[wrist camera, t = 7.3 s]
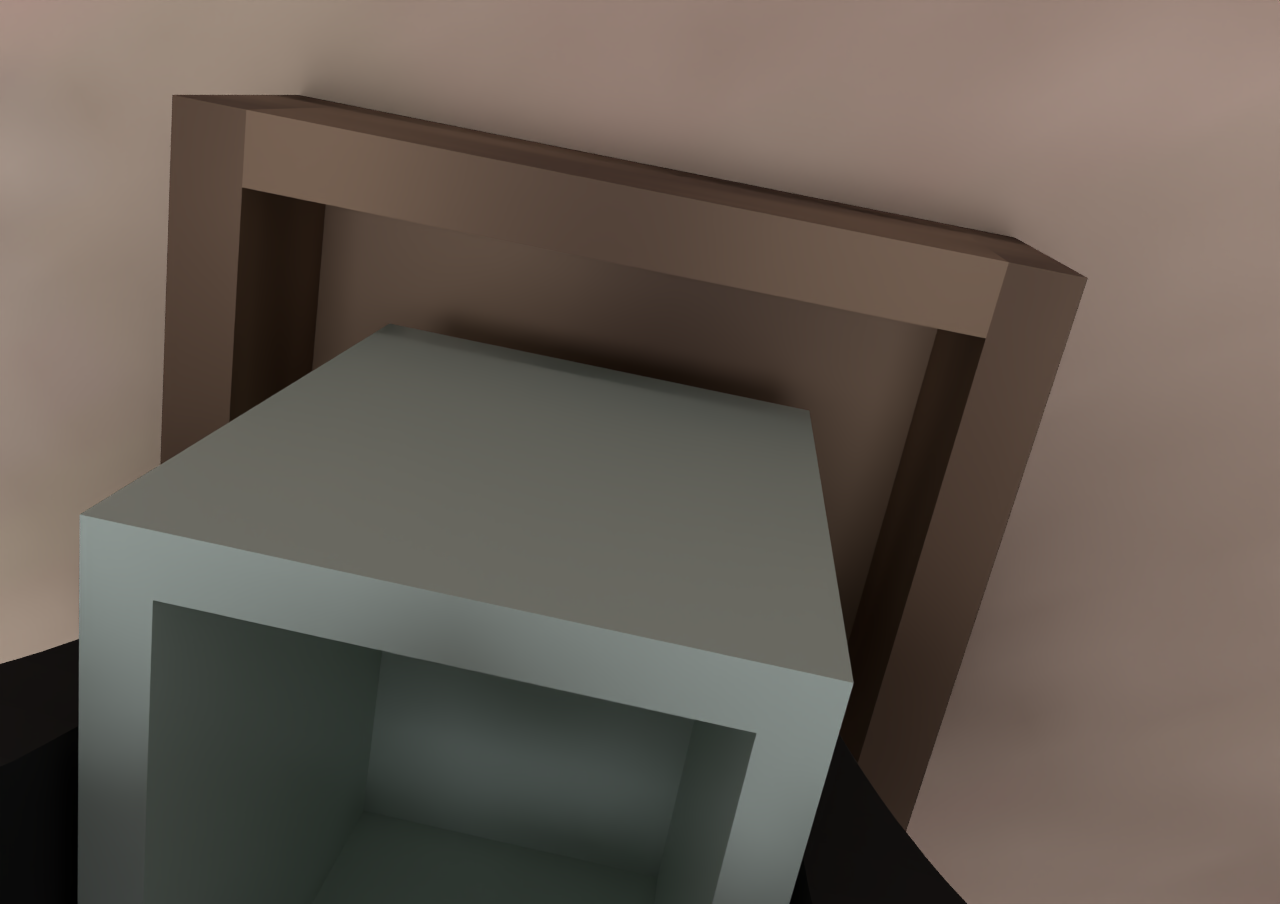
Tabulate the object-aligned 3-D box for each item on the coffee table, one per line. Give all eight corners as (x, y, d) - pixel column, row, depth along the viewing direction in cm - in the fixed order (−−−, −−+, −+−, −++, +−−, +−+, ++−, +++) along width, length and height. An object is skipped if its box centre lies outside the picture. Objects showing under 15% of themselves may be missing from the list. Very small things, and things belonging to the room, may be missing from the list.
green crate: (809, 410, 12) (853, 683, 7) (689, 888, 15) (645, 1395, 9) (389, 323, 12) (79, 514, 7) (337, 809, 15) (75, 1254, 9)
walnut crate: (1014, 237, 14) (1087, 278, 11) (805, 932, 18) (814, 1106, 14) (297, 95, 14) (172, 95, 11) (248, 805, 18) (144, 949, 15)
